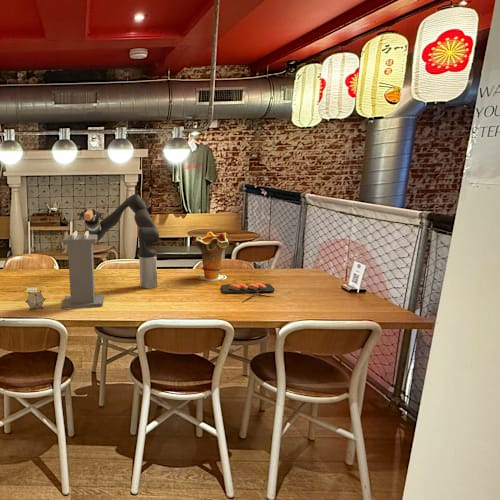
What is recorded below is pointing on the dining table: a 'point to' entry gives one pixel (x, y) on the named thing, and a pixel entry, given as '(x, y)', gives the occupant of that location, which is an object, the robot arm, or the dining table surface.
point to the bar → (88, 215)
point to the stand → (81, 272)
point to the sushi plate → (248, 288)
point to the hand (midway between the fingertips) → (89, 210)
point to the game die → (35, 300)
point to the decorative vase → (212, 255)
